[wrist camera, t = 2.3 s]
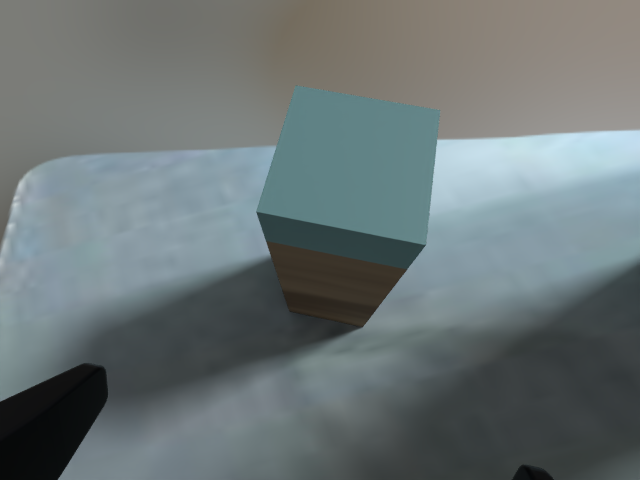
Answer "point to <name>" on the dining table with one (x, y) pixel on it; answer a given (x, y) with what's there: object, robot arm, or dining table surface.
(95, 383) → the robot arm
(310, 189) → the wooden block
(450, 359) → the dining table surface
